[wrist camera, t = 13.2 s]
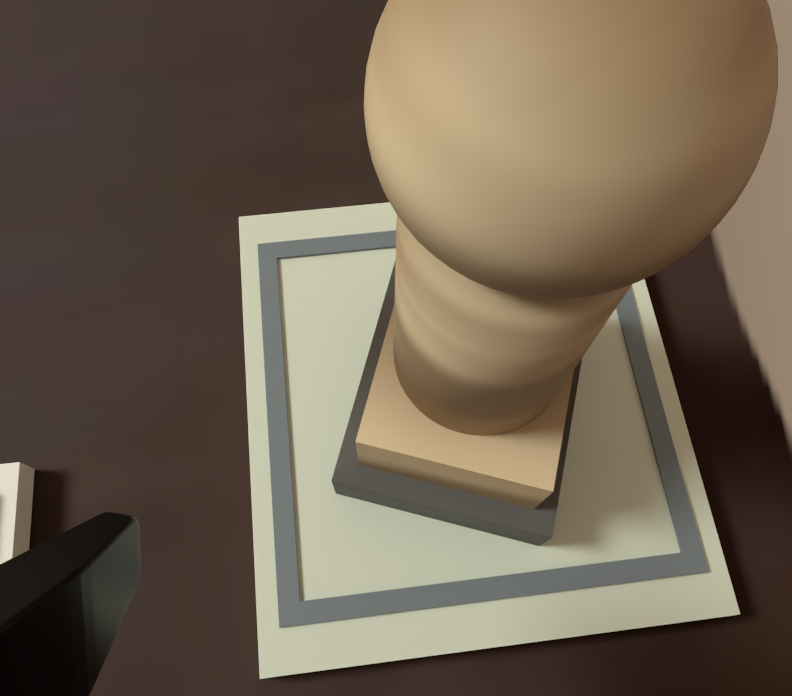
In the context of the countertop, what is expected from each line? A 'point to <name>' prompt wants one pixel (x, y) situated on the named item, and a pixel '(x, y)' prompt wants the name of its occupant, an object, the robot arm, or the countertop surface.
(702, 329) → the countertop surface
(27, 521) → the ink pad
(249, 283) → the marked board
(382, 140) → the hand stamp
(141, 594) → the countertop surface
